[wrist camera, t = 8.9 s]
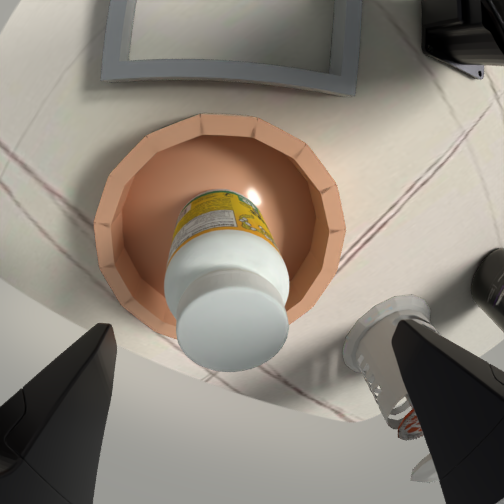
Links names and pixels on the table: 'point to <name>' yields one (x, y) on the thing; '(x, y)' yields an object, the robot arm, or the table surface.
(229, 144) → the bowl
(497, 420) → the robot arm
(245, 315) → the supplement bottle
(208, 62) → the open rectangular frame
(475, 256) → the table surface
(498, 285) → the supplement bottle
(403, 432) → the french press
